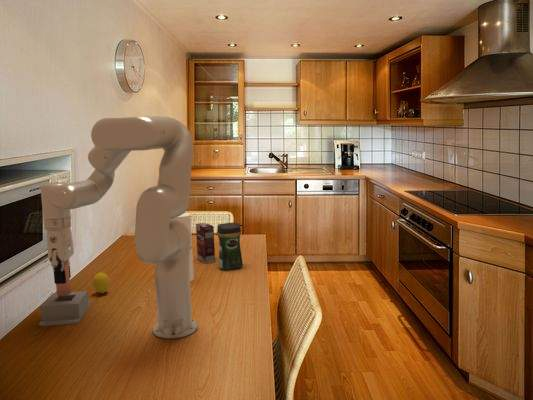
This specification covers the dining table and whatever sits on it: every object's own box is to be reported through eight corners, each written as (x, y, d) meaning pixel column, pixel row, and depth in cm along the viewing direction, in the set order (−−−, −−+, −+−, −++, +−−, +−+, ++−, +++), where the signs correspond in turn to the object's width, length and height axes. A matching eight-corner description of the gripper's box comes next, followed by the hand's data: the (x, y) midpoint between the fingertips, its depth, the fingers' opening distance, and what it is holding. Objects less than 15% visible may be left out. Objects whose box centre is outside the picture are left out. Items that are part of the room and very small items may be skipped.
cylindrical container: (189, 283, 172) (186, 217, 168) (171, 282, 174) (167, 216, 170) (196, 277, 179) (193, 213, 175) (179, 276, 181) (175, 213, 177)
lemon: (104, 289, 167) (102, 268, 166) (113, 293, 164) (111, 271, 163) (90, 294, 163) (88, 272, 162) (99, 297, 160) (97, 275, 158)
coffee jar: (239, 263, 195) (237, 220, 192) (244, 268, 188) (243, 223, 185) (216, 266, 192) (214, 222, 189) (221, 271, 185) (219, 226, 182)
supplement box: (196, 259, 203) (195, 223, 201) (206, 257, 206) (205, 222, 203) (205, 263, 196) (203, 227, 193) (215, 261, 198) (214, 225, 196)
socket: (77, 323, 139) (75, 306, 138) (38, 326, 138) (37, 309, 137) (91, 303, 154) (89, 288, 154) (56, 305, 153) (55, 290, 152)
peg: (68, 295, 143) (65, 257, 141) (55, 296, 143) (51, 258, 141) (72, 290, 147) (69, 254, 145) (59, 291, 147) (55, 254, 145)
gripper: (61, 228, 134) (67, 289, 136) (78, 217, 150) (82, 271, 153) (34, 229, 133) (40, 291, 136) (53, 218, 149) (59, 273, 152)
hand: (62, 280), depth 144 cm, fingers closed on peg, 4 cm apart
